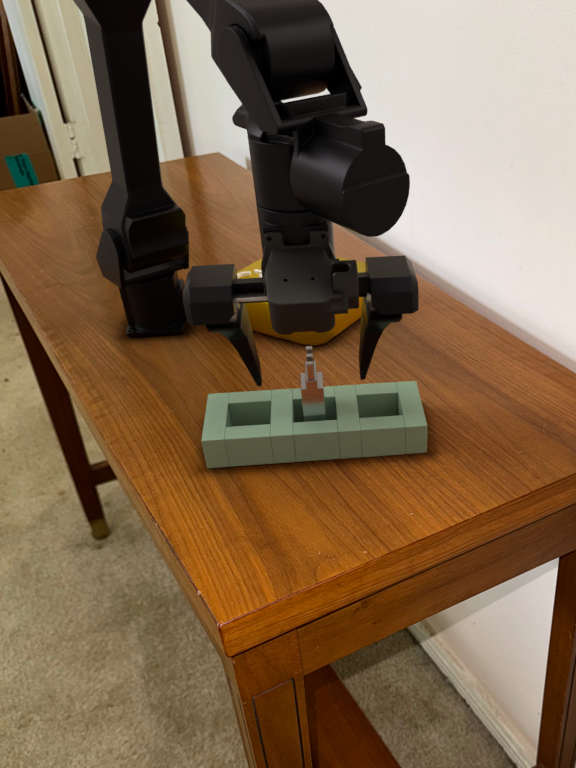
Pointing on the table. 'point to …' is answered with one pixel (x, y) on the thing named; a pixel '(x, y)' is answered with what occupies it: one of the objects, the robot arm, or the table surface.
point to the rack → (313, 425)
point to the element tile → (262, 324)
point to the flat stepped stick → (312, 390)
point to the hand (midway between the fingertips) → (311, 380)
